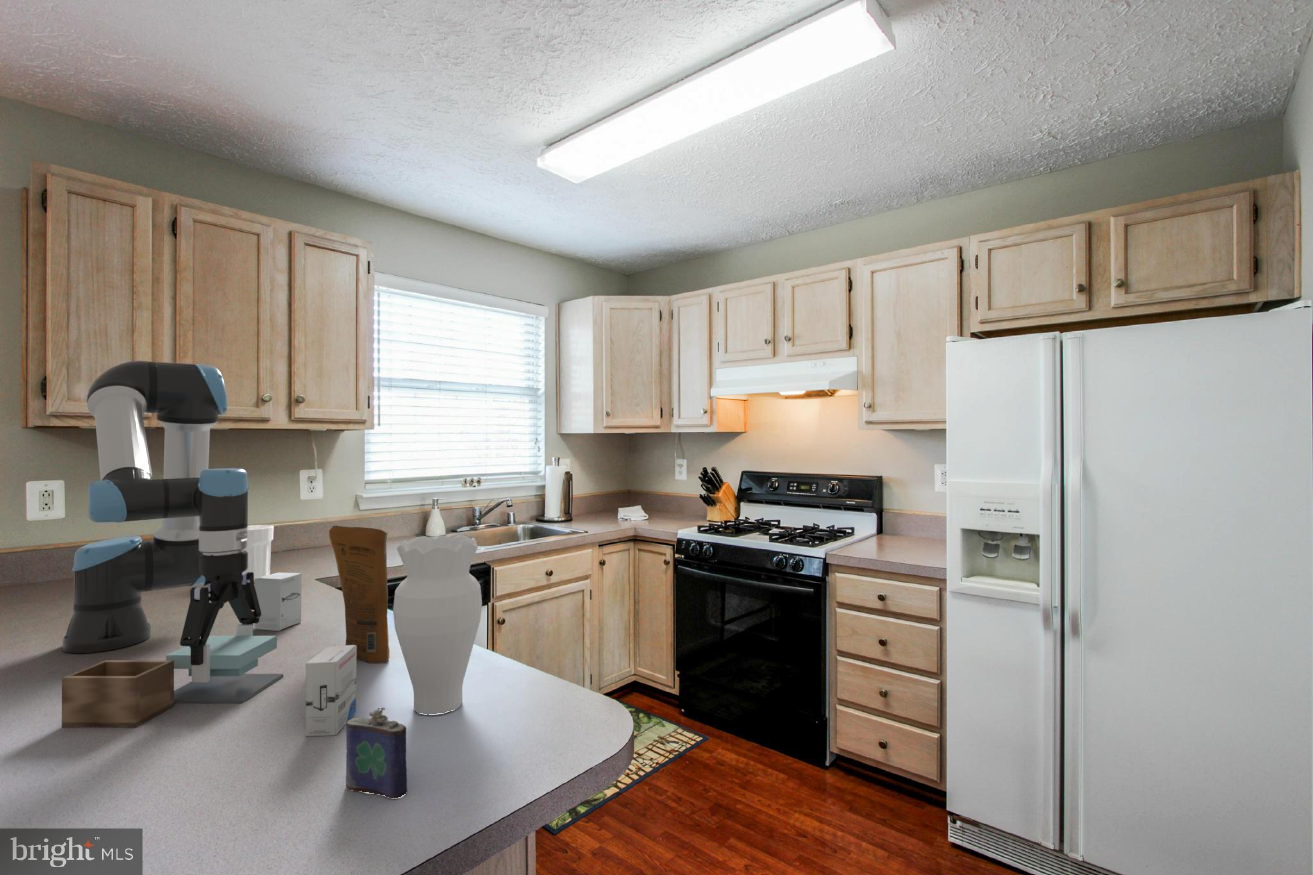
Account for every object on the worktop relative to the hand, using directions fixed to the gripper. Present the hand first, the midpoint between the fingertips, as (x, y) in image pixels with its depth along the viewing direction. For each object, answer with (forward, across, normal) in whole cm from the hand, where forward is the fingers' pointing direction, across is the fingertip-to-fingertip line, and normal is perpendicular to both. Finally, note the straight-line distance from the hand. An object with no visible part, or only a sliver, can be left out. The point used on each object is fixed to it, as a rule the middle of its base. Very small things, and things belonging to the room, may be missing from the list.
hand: (223, 669), depth 117 cm
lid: (-2, 0, 0) cm, 2 cm away
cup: (+4, +88, +52) cm, 102 cm away
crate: (+4, -12, +10) cm, 15 cm away
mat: (+4, 0, 0) cm, 4 cm away
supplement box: (+4, +39, +14) cm, 41 cm away
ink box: (+4, -14, -28) cm, 31 cm away
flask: (+4, -33, -44) cm, 55 cm away
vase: (+4, -7, -42) cm, 43 cm away
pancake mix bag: (+4, +18, -18) cm, 25 cm away
